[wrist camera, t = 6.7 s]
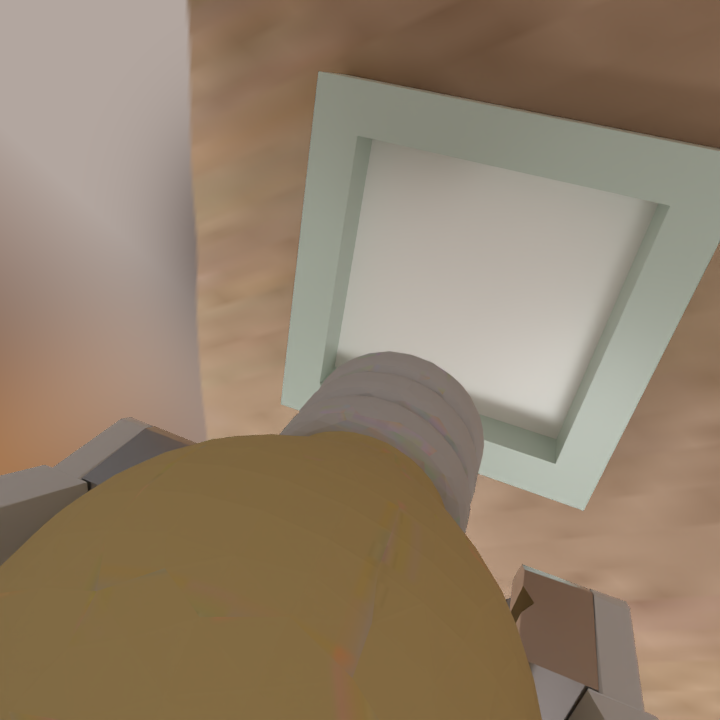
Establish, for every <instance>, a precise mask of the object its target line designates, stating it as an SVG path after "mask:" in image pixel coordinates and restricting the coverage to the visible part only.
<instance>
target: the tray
mask: <svg viewBox="0 0 720 720" xmlns="http://www.w3.org/2000/svg"><path fill="white" fill-rule="evenodd" d="M719 242H720V149H719V148H714V147H709V146H704V145H699V144H694V143H689V142H684V141H679V140H674V139H669V138H664V137H659V136H653V135H648V134H643V133H638V132H633V131H628V130H623V129H618V128H613V127H608V126H603V125H598V124H593V123H588V122H583V121H578V120H573V119H568V118H563V117H558V116H553V115H548V114H543V113H538V112H533V111H527V110H522V109H517V108H512V107H507V106H502V105H497V104H492V103H487V102H482V101H477V100H472V99H467V98H462V97H457V96H452V95H447V94H442V93H437V92H432V91H427V90H422V89H417V88H412V87H407V86H401V85H396V84H391V83H386V82H381V81H376V80H371V79H366V78H361V77H356V76H351V75H346V74H338V73H330V72H321V71H318V79H317V88H316V97H315V106H314V114H313V123H312V132H311V141H310V150H309V159H308V168H307V176H306V185H305V194H304V203H303V212H302V221H301V229H300V238H299V247H298V256H297V265H296V274H295V283H294V291H293V300H292V309H291V318H290V327H289V336H288V344H287V353H286V362H285V371H284V380H283V389H282V398H281V404H282V405H285V406H288V407H290V408H293V409H296V410H299V411H300V409H301V408H302V407H303V406H304V404H305V403H306V402H307V401H308V400H309V399H310V398H311V396H312V395H313V394H314V393H315V392H316V391H318V390H319V388H320V387H321V385H322V384H323V382H324V381H325V380H326V379H327V377H328V376H329V375H330V374H331V373H332V372H333V371H334V370H335V369H337V368H338V367H339V366H340V365H342V364H344V363H346V362H348V361H350V360H352V359H354V358H356V357H359V356H362V355H365V354H368V353H376V352H386V351H392V352H398V353H405V354H411V355H414V356H416V357H419V358H422V359H424V360H427V361H430V362H432V363H434V364H435V365H437V366H438V367H440V368H441V369H443V370H444V371H446V372H447V373H449V374H450V375H452V376H453V377H454V378H455V379H456V380H457V381H458V382H459V383H460V384H461V385H462V386H463V387H464V389H465V390H466V391H467V393H468V394H469V395H470V397H471V398H472V400H473V402H474V405H475V407H476V409H477V411H478V413H479V416H480V418H481V423H482V427H483V437H484V449H483V456H482V460H481V464H480V468H479V472H478V474H481V475H484V476H486V477H489V478H492V479H495V480H498V481H501V482H504V483H506V484H509V485H512V486H515V487H518V488H521V489H523V490H526V491H529V492H532V493H535V494H538V495H540V496H543V497H546V498H549V499H552V500H555V501H557V502H560V503H563V504H566V505H569V506H572V507H575V508H577V509H580V510H583V511H584V509H585V507H586V505H587V503H588V501H589V499H590V497H591V495H592V493H593V491H594V489H595V487H596V485H597V483H598V481H599V479H600V477H601V475H602V473H603V471H604V469H605V467H606V465H607V463H608V461H609V459H610V458H611V456H612V454H613V452H614V450H615V448H616V446H617V444H618V442H619V440H620V438H621V436H622V434H623V432H624V430H625V428H626V426H627V424H628V422H629V420H630V418H631V416H632V414H633V412H634V410H635V408H636V406H637V404H638V402H639V400H640V398H641V396H642V394H643V392H644V390H645V388H646V386H647V384H648V382H649V380H650V378H651V376H652V374H653V372H654V371H655V369H656V367H657V365H658V363H659V361H660V359H661V357H662V355H663V353H664V351H665V349H666V347H667V345H668V343H669V341H670V339H671V337H672V335H673V333H674V331H675V329H676V327H677V325H678V323H679V321H680V319H681V317H682V315H683V313H684V311H685V309H686V307H687V305H688V303H689V301H690V299H691V297H692V295H693V293H694V291H695V289H696V287H697V285H698V284H699V282H700V280H701V278H702V276H703V274H704V272H705V270H706V268H707V266H708V264H709V262H710V260H711V258H712V256H713V254H714V252H715V250H716V248H717V246H718V244H719Z"/></svg>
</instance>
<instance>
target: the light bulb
mask: <svg viewBox="0 0 720 720" xmlns="http://www.w3.org/2000/svg"><path fill="white" fill-rule="evenodd" d="M483 449H484V437H483V427H482V423H481V418H480V416H479V413H478V411H477V409H476V407H475V405H474V402H473V400H472V398H471V397H470V395H469V394H468V393H467V391H466V390H465V389H464V387H463V386H462V385H461V384H460V383H459V382H458V381H457V380H456V379H455V378H454V377H453V376H452V375H450V374H449V373H447V372H446V371H444V370H443V369H441V368H440V367H438V366H437V365H435V364H434V363H432V362H430V361H427V360H424V359H422V358H419V357H416V356H414V355H411V354H405V353H398V352H392V351H386V352H376V353H368V354H365V355H362V356H359V357H356V358H354V359H352V360H350V361H348V362H346V363H344V364H342V365H340V366H339V367H338V368H337V369H335V370H334V371H333V372H332V373H331V374H330V375H329V376H328V377H327V379H326V380H325V381H324V382H323V384H322V385H321V387H320V388H319V390H318V391H316V392H315V393H314V394H313V395H312V396H311V398H310V399H309V400H308V401H307V402H306V403H305V404H304V406H303V407H302V408H301V409H300V411H299V413H298V414H297V415H296V416H295V417H294V418H293V419H292V420H291V421H290V422H289V424H288V425H287V426H286V427H285V428H284V430H283V431H282V432H281V433H280V435H274V434H270V435H249V436H234V437H226V438H219V439H212V440H208V441H205V442H201V443H197V444H194V445H190V446H186V447H183V448H179V449H175V450H172V451H168V452H165V453H163V454H160V455H158V456H156V457H153V458H151V459H149V460H146V461H144V462H142V463H139V464H137V465H135V466H133V467H131V468H128V469H126V470H124V471H122V472H120V473H118V474H116V475H114V476H112V477H111V478H109V479H108V480H106V481H104V482H103V483H101V484H99V485H98V486H96V487H95V488H93V489H91V490H90V491H88V492H87V493H85V494H84V495H82V496H81V497H79V498H78V499H76V500H75V501H74V502H72V503H71V504H69V505H68V506H66V507H65V508H63V509H62V510H61V511H60V512H58V513H57V514H56V515H55V516H54V517H52V518H51V519H50V520H49V521H47V522H46V523H45V524H44V525H43V526H42V527H41V528H40V529H39V530H38V531H37V532H36V533H34V534H33V535H32V536H31V537H30V538H29V539H28V540H27V541H26V542H25V543H24V544H23V545H22V546H21V547H20V548H19V549H18V550H17V551H16V552H15V553H14V554H13V555H12V556H10V557H9V558H8V559H7V560H6V561H5V562H4V563H3V564H2V565H1V566H0V720H542V717H541V712H540V707H539V702H538V697H537V692H536V687H535V682H534V678H533V675H532V672H531V669H530V666H529V663H528V660H527V657H526V653H525V650H524V647H523V644H522V641H521V638H520V635H519V632H518V629H517V625H516V623H515V621H514V618H513V616H512V614H511V611H510V609H509V607H508V604H507V602H506V600H505V597H504V595H503V593H502V590H501V589H500V587H499V585H498V584H497V582H496V580H495V579H494V577H493V575H492V574H491V572H490V571H489V569H488V567H487V566H486V564H485V562H484V561H483V559H482V557H481V556H480V554H479V552H478V551H477V549H476V548H475V546H474V545H473V544H472V542H471V541H470V540H469V538H468V537H467V536H466V534H465V532H466V528H467V523H468V519H469V513H470V504H471V501H472V498H473V494H474V491H475V486H476V481H477V475H478V472H479V468H480V464H481V460H482V456H483Z"/></svg>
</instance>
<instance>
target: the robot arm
mask: <svg viewBox="0 0 720 720" xmlns="http://www.w3.org/2000/svg"><path fill="white" fill-rule="evenodd" d="M194 444H197V443H195V442H192V441H190V440H188V439H185V438H183V437H180V436H177V435H175V434H173V433H170V432H168V431H165V430H163V429H160V428H158V427H155V426H151V425H149V424H146V423H144V422H141V421H139V420H137V419H134V418H132V417H129V418H123V419H120V420H119V421H117V422H116V423H115V424H113V425H112V426H110V427H109V428H108V429H106V430H105V431H103V432H102V433H101V434H99V435H98V436H96V437H95V438H94V439H92V440H91V441H90V442H88V443H87V444H85V445H84V446H83V447H81V448H79V449H78V450H77V451H75V452H74V453H72V454H71V455H70V456H68V457H67V458H65V459H64V460H63V461H61V462H60V463H58V464H57V465H56V466H54V467H53V468H52V467H49V466H46V465H42V466H38V467H35V468H30V469H26V470H22V471H18V472H14V473H10V474H6V475H1V476H0V566H1V565H2V564H3V563H4V562H5V561H6V560H7V559H8V558H9V557H10V556H12V555H13V554H14V553H15V552H16V551H17V550H18V549H19V548H20V547H21V546H22V545H23V544H24V543H25V542H26V541H27V540H28V539H29V538H30V537H31V536H32V535H33V534H34V533H36V532H37V531H38V530H39V529H40V528H41V527H42V526H43V525H44V524H45V523H46V522H47V521H49V520H50V519H51V518H52V517H54V516H55V515H56V514H57V513H58V512H60V511H61V510H62V509H63V508H65V507H66V506H68V505H69V504H71V503H72V502H74V501H75V500H76V499H78V498H79V497H81V496H82V495H84V494H85V493H87V492H88V491H90V490H91V489H93V488H95V487H96V486H98V485H99V484H101V483H103V482H104V481H106V480H108V479H109V478H111V477H112V476H114V475H116V474H118V473H120V472H122V471H124V470H126V469H128V468H131V467H133V466H135V465H137V464H139V463H142V462H144V461H146V460H149V459H151V458H153V457H156V456H158V455H160V454H163V453H165V452H168V451H172V450H175V449H179V448H183V447H186V446H190V445H194ZM506 602H507V604H508V607H509V609H510V611H511V614H512V616H513V618H514V621H515V623H516V625H517V629H518V632H519V635H520V638H521V641H522V644H523V647H524V650H525V653H526V657H527V660H528V663H529V666H530V669H531V672H532V675H533V678H534V682H535V687H536V692H537V697H538V702H539V707H540V712H541V717H542V720H658V718H657V717H656V716H654V715H651V714H649V713H647V712H645V710H644V703H643V696H642V689H641V682H640V675H639V668H638V661H637V654H636V647H635V640H634V633H633V626H632V619H631V612H630V608H629V606H628V604H627V603H626V602H625V601H623V600H620V599H617V598H614V597H611V596H609V595H606V594H603V593H600V592H598V591H595V590H592V589H588V588H586V587H583V586H580V585H578V584H575V583H572V582H569V581H567V580H564V579H561V578H558V577H556V576H553V575H550V574H547V573H545V572H542V571H539V570H536V569H534V568H531V567H528V566H525V565H523V564H522V565H521V566H520V568H519V569H518V571H517V573H516V575H515V577H514V579H513V584H512V592H511V598H509V599H506Z"/></svg>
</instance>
